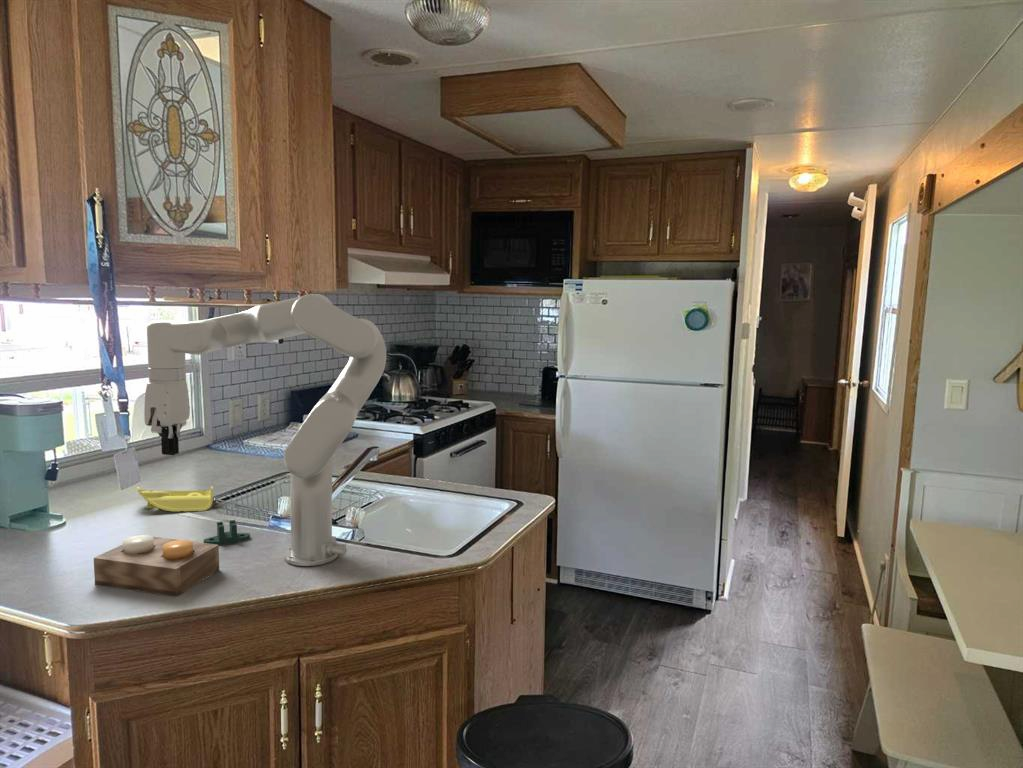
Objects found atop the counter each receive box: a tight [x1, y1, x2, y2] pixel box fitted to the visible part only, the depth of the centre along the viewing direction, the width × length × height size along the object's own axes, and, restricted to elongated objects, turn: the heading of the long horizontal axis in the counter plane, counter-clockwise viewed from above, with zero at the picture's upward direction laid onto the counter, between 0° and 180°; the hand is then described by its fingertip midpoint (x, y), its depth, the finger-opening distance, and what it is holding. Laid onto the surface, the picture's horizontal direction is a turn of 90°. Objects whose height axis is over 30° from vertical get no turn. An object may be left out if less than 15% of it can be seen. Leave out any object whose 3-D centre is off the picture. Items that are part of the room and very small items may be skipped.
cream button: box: [122, 534, 154, 554], centre depth 149 cm, size 6×6×6 cm
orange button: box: [162, 539, 194, 559], centre depth 147 cm, size 6×6×6 cm
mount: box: [203, 519, 251, 546], centre depth 170 cm, size 11×4×5 cm, turn 119°
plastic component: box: [136, 485, 214, 513], centre depth 194 cm, size 20×7×10 cm
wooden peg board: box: [93, 536, 220, 597], centre depth 148 cm, size 20×14×6 cm
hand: (170, 453), depth 154 cm, fingers closed
